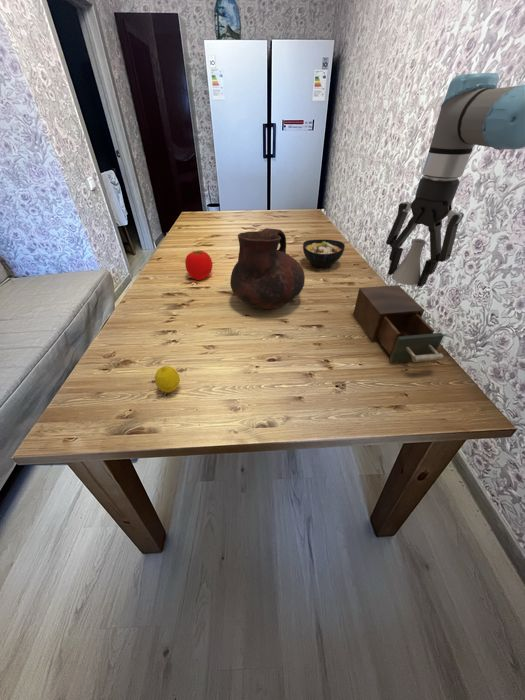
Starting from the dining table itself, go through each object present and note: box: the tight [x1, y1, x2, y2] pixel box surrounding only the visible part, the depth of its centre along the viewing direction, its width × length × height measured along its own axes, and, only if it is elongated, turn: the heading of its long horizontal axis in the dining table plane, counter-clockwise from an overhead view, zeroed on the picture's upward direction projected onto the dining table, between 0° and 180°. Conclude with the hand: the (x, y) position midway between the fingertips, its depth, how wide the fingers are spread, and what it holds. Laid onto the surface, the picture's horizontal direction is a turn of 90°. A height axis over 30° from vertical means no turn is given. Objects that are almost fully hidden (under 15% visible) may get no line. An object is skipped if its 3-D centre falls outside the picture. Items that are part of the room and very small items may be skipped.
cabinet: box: [352, 284, 425, 343], centre depth 86 cm, size 15×13×10 cm
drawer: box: [376, 313, 445, 364], centre depth 76 cm, size 19×12×8 cm, turn 7°
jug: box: [229, 227, 306, 310], centre depth 94 cm, size 25×25×25 cm
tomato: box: [184, 250, 214, 281], centre depth 113 cm, size 10×11×11 cm
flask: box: [391, 238, 427, 286], centre depth 71 cm, size 7×7×10 cm
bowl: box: [302, 239, 346, 270], centre depth 121 cm, size 17×17×10 cm
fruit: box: [154, 365, 181, 393], centre depth 67 cm, size 6×6×8 cm
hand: (406, 278), depth 74 cm, fingers closed on flask, 8 cm apart
